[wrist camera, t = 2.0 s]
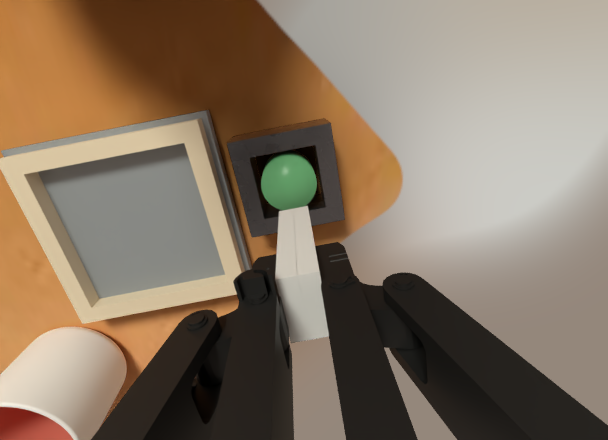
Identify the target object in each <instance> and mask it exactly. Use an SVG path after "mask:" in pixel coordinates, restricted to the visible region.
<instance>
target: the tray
mask: <svg viewBox="0 0 608 440" xmlns="http://www.w3.org/2000/svg"><path fill="white" fill-rule="evenodd" d="M1 152H2V154H3V156H4V157H3V158H0V169H1V171H2V173H3V174H4V176H5V178H6V180H7V182H8V184H9V186H10V188H11V190H12V191H13V193H14V195H15V197H16V199H17V201H18V203H19V205H20V207H21V208H22V210H23V212H24V214H25V216H26V218H27V220H28V222H29V224H30V225H31V227H32V229H33V231H34V233H35V235H36V237H37V239H38V241H39V242H40V244H41V246H42V248H43V250H44V252H45V254H46V256H47V258H48V259H49V261H50V263H51V265H52V267H53V269H54V271H55V273H56V275H57V276H58V278H59V280H60V282H61V284H62V286H63V288H64V290H65V292H66V293H67V295H68V297H69V299H70V301H71V303H72V305H73V307H74V309H75V310H76V312H77V314H78V316H79V318H80V320H81V322H82V324H84V323H89V322H95V321H100V320H105V319H110V318H116V317H121V316H126V315H131V314H137V313H142V312H147V311H152V310H158V309H163V308H168V307H173V306H179V305H184V304H189V303H194V302H199V301H205V300H210V299H215V298H220V297H226V296H231V295H236V294H237V293H236V290H235V286H234V283H233V281H234V279H235V278H236V277H237V276H238V275H239V274H241V273H243V272H245V271H247V270H250V269H252V265H251V262H250V258H249V254H248V251H247V247H246V243H245V240H244V236H243V233H242V229H241V225H240V222H239V218H238V214H237V211H236V207H235V203H234V200H233V196H232V193H231V189H230V185H229V182H228V178H227V174H226V171H225V167H224V164H223V160H222V156H221V153H220V149H219V145H218V142H217V138H216V135H215V131H214V127H213V124H212V120H211V116H210V113H209V110H205V111H199V112H194V113H189V114H184V115H179V116H174V117H169V118H164V119H159V120H154V121H149V122H144V123H139V124H134V125H128V126H123V127H118V128H113V129H108V130H103V131H98V132H93V133H88V134H83V135H78V136H73V137H68V138H63V139H57V140H52V141H47V142H42V143H37V144H32V145H27V146H22V147H17V148H12V149H7V150H3V151H1Z"/></svg>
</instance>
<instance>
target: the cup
mask: <svg viewBox="0 0 608 440" xmlns="http://www.w3.org/2000/svg"><path fill="white" fill-rule="evenodd" d="M126 373H127V365H126V360H125V357H124V355H123V353H122V351H121V349H120V348H119V347H118V346H117V344H116V343H115V342H114V341H112V340H111V339H110V338H108V337H107V336H105V335H104V334H102V333H100V332H97V331H95V330H92V329H88V328H83V327H61V328H57V329H53V330H50V331H48V332H46V333H44V334H42V335H41V336H39V337H38V338H36V339H35V340H34V341H33V342H32V343H31V344H30V345H29V346H28V347H27V348H26V349H25V350H24V351H23V352H22V353H21V354H20V355H19V356H18V357H17V358H16V359H15V360H14V361H13V362H12V363H11V364H10V365H9V366H8V367H7V368H6V369H5V370H4V371H3V372H2V373H1V374H0V440H91V439H92V438H93V436H94V435H95V434H96V432H97V431H98V430H99V428H100V426H101V424H102V422H103V420H104V419H105V417H106V415H107V413H108V411H109V409H110V408H111V406H112V404H113V402H114V400H115V398H116V396H117V395H118V393H119V391H120V389H121V387H122V385H123V383H124V381H125V378H126Z"/></svg>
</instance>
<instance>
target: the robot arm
mask: <svg viewBox="0 0 608 440" xmlns="http://www.w3.org/2000/svg"><path fill="white" fill-rule="evenodd" d="M233 283H234V286H235V290H236V293H237V296H238V299H239V306H238V309H236V310H235V311H233V312H231V313H229V314H226V315H224V316H221V317H219V318H218V317H217V314H216V313H215V312H214V311H212V310H201V311H197V312H194V313H192V314H190V315H189V316H187V317H185V318H184V319H183V320H182V321H181V322H180V323H179V324H178V326H177V327H176V328H175V330H174V331H173V332H172V334H171V335H170V336H169V338H168V339H167V340H166V341H165V343H164V344H163V345H162V347H161V348H160V349H159V351H158V352H157V353H156V355H155V356H154V357H153V359H152V360H151V361H150V363H149V364H148V365H147V367H146V368H145V369H144V370H143V372H142V373H141V374H140V376H139V377H138V378H137V380H136V381H135V382H134V384H133V385H132V386H131V388H130V389H129V390H128V392H127V393H126V394H125V395H124V397H123V398H122V399H121V401H120V402H119V403H118V405H117V406H116V407H115V409H114V410H113V411H112V413H111V414H110V415H109V417H108V418H107V419H106V421H105V422H104V423H103V424H102V426H101V427H100V428H99V430H98V431H97V432H96V434H95V435H94V436H93V438H92V439H91V440H294V429H293V389H292V388H293V386H292V353H291V349H290V345H289V337H290V341H291V343H295V342H300V341H306V340H311V339H317V338H322V337H328V336H329V339H330V345H331V350H332V357H333V363H334V369H335V374H336V380H337V386H338V393H339V399H340V404H341V411H342V417H343V422H344V429H345V435H346V440H418V439H417V437H416V434H415V431H414V429H413V426H412V423H411V420H410V418H409V415H408V412H407V409H406V407H405V404H404V401H403V398H402V396H401V393H400V390H399V388H398V385H397V382H396V380H395V377H394V374H393V371H392V369H391V366H390V363H389V360H388V358H387V355H386V352H385V350H384V347H388V348H390V351H391V353H392V354H393V356H394V357H395V358H396V360H397V361H398V362H399V364H400V365H401V366H402V368H403V369H404V370H405V371H406V373H407V374H408V375H409V377H410V378H411V379H412V381H413V382H414V383H415V385H416V386H417V387H418V388H419V390H420V391H421V392H422V394H423V395H424V396H425V398H426V399H427V400H428V402H429V403H430V404H431V405H432V407H433V408H434V409H435V411H436V412H437V414H438V415H439V416H440V417H441V419H442V420H443V421H444V423H445V424H446V425H447V426H448V428H449V429H450V431H451V432H452V433H453V435H454V436H455V437H456V438H457V440H608V425H607V424H605V423H604V422H603V421H602V420H600V419H599V418H598V417H596V416H595V415H594V414H593V413H591V412H590V411H589V410H588V409H586V408H585V407H584V406H583V405H581V404H580V403H579V402H578V401H576V400H575V399H574V398H572V397H571V396H570V395H569V394H567V393H566V392H565V391H564V390H562V389H561V388H560V387H559V386H557V385H556V384H555V383H554V382H552V381H551V380H550V379H548V378H547V377H546V376H545V375H544V374H542V373H541V372H540V371H538V370H537V369H536V368H535V367H533V366H532V365H531V364H530V363H528V362H527V361H526V360H525V359H523V358H522V357H521V356H520V355H518V354H517V353H516V352H515V351H513V350H512V349H511V348H509V347H508V346H507V345H505V344H504V343H503V342H502V341H501V340H499V339H498V338H497V337H496V336H494V335H493V334H492V333H491V332H489V331H488V330H487V329H485V328H484V327H483V326H482V325H481V324H479V323H478V322H477V321H475V320H474V319H473V318H472V317H470V316H469V315H468V314H466V313H465V312H464V311H463V310H462V309H460V308H459V307H458V306H457V305H455V304H454V303H452V302H451V301H450V300H449V299H448V298H446V297H445V296H444V295H443V294H441V293H440V292H439V291H438V290H436V289H435V288H434V287H433V286H431V285H430V284H429V283H428V282H426V281H425V280H424V279H422V278H421V277H419V276H417V275H415V274H411V273H397V274H392V275H390V276H388V277H387V278H386V279H385V280H384V281H383V286H373V285H367V284H363V283H361V282H359V279H358V278H357V277H356V276H355V275H354V273H353V270H352V267H351V265H350V262H349V259H348V256H347V254H346V250H345V248H344V246H343V245H341V244H340V243H338V242H335V243H330V244H324V245H319V246H315V242H314V236H313V231H312V226H311V220H310V215H309V210H308V206H304V207H299V208H294V209H288V210H283V211H279V220H278V238H277V254H275V255H270V256H265V257H259V258H258V259H257V260H256V261H255V262H254V264H253V266H252V269H250V270H247V271H245V272H243V273H241V274H239V275H238V276H237V277H236V278H235V279H234V281H233ZM194 378H195V379H194Z"/></svg>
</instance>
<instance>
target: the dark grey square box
mask: <svg viewBox="0 0 608 440" xmlns="http://www.w3.org/2000/svg"><path fill="white" fill-rule="evenodd" d="M227 146H228V150H229V153H230V157H231V161H232V165H233V169H234V172H235V176H236V180H237V184H238V187H239V191H240V195H241V199H242V202H243V206H244V210H245V214H246V217H247V221H248V225H249V229H250V233H251V236H252V237H257V236H262V235H268V234H273V233H278V220H279V211H283V210H280V209H277V208H275V207H274V206H272V205H271V204H270V203H268V204H266V200H265V197H264V195H263V192H262V189H261V179H260V175H259V170H258V166H257V162H256V158H255V157H256V156H261V155H266V154H272V153H277V152H282V151H287V150H292V149H297V148H302V147H307V146H313V150H314V156H315V162H316V168H317V174H318V179H319V185H320V191H321V193H320V194H315V195H314V197H313V198H312V200H311V201H310V202H309V203H308V204H307V205H306V206H308V210H309V215H310V220H311V226H314V225H320V224H325V223H330V222H335V221H340V220H345V217H344V210H343V203H342V196H341V190H340V183H339V176H338V169H337V163H336V156H335V149H334V142H333V136H332V129H331V123H330V122H329V121H327V120H326V119H325V118H324V119H319V120H313V121H308V122H303V123H298V124H293V125H288V126H283V127H278V128H273V129H268V130H262V131H257V132H252V133H247V134H242V135H237V136H233V137H232V138H231V139H230V140H229V142H228V143H227Z"/></svg>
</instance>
